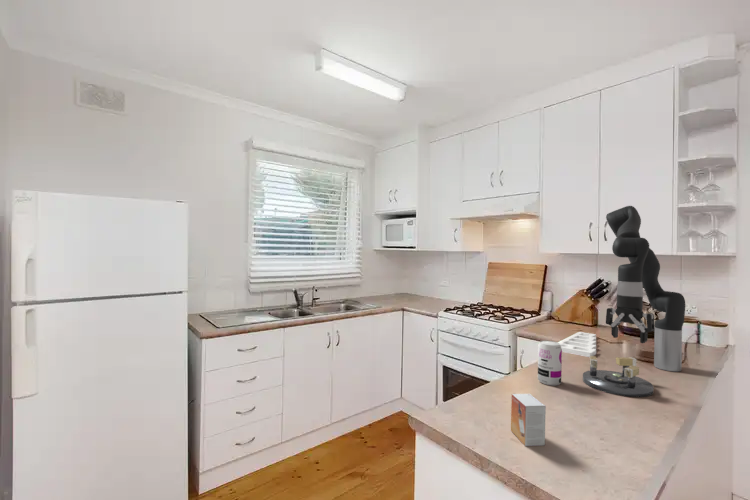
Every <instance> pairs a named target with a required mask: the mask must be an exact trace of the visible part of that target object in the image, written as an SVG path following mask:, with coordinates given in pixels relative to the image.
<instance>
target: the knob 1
mask: <svg viewBox="0 0 750 500" xmlns="http://www.w3.org/2000/svg"><path fill="white" fill-rule="evenodd" d="M597 370H598V358H597V356H596V355H594V356H590V357H589V371H590V375H591V376H597Z"/></svg>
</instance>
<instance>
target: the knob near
mask: <svg viewBox="0 0 750 500" xmlns="http://www.w3.org/2000/svg"><path fill="white" fill-rule="evenodd" d="M615 364H616V365H617V366H620V367H622V372H621V373H622V374H623V375H624V368H628V367H630V366H636V367H637V358H635V357H633V356H632V357H631V356H630V357H627V356H626V357H622V356H620V357H617V356H616V357H615Z"/></svg>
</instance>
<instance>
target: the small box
mask: <svg viewBox="0 0 750 500" xmlns="http://www.w3.org/2000/svg"><path fill="white" fill-rule="evenodd" d="M510 406H511V407H510V408H511V410H510V411H511V413H510V417H511V418H510V431H511V432H512V433H513V435H515V437H516V438H517V439H518V440H519V441H520V442H521V443H522V445H523V446H524V447H534V446H536V447H537V446H540V447H541V446H545V444H546V443H545V442H546V413H547V412H546V410H547V406H546V405H545V404H543V402H541V401H540V400H539V399H537V398H536V397H534V396H533V395H532V394H531V393H512V394H511V405H510Z"/></svg>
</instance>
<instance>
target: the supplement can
mask: <svg viewBox="0 0 750 500" xmlns="http://www.w3.org/2000/svg"><path fill="white" fill-rule="evenodd" d="M562 354H563V352H562V348H561V346H560V344H559V343H557V341H552V340H541V341H539V343H538V345H537V380H538V381H539V383H542V384H544V385H545V386H547V385H548V386H554V387H555V386H560V384H561V383H562V372H563V371H562V369H563V368H562V363H563V362H562V357H563V355H562Z"/></svg>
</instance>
